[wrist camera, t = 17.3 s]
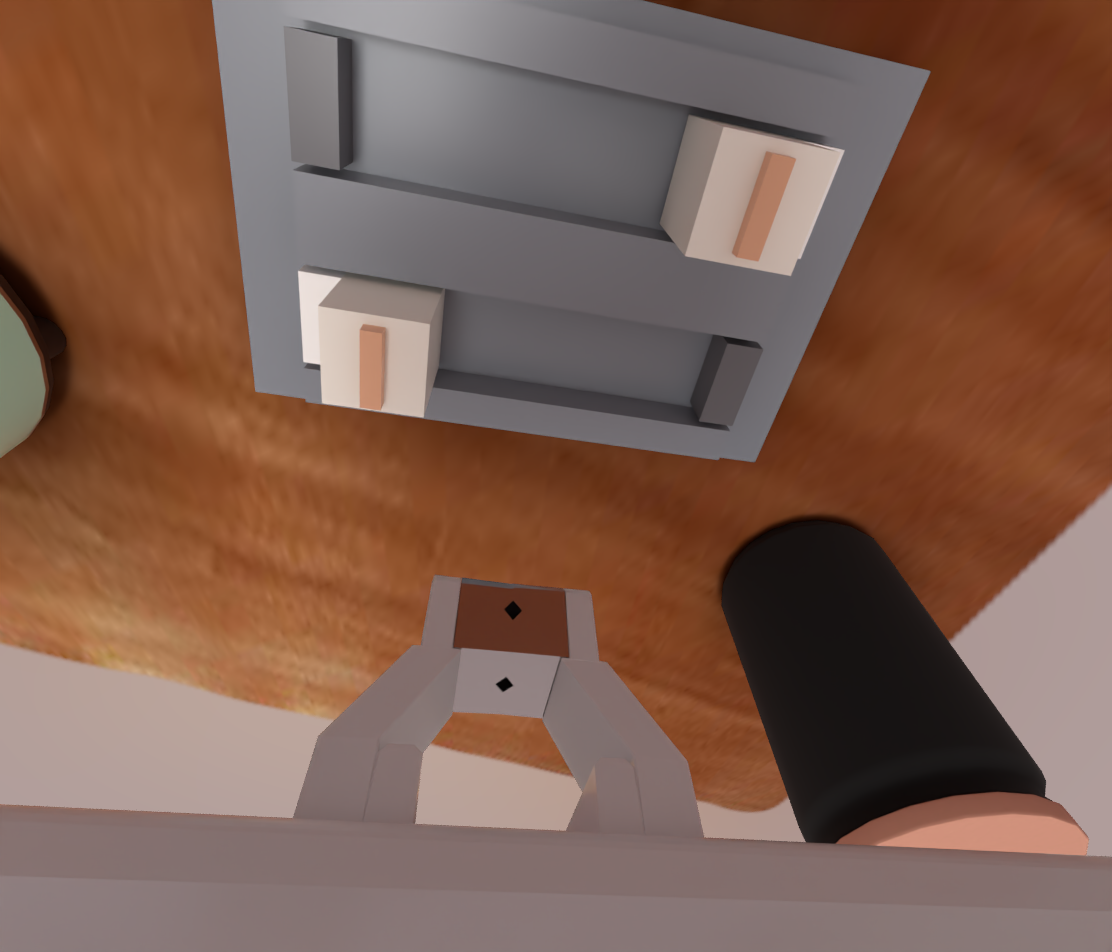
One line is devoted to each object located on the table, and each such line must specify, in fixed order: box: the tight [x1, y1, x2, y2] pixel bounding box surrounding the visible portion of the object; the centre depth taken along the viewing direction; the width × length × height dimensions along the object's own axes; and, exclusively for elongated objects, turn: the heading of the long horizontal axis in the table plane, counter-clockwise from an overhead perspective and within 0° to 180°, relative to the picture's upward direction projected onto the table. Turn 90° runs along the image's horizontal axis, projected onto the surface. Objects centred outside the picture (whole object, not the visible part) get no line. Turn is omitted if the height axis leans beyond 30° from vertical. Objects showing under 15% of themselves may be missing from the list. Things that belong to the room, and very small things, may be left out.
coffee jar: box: [722, 520, 1089, 855], centre depth 32 cm, size 11×11×18 cm
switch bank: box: [212, 0, 931, 462], centre depth 26 cm, size 18×26×4 cm
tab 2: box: [660, 114, 840, 276], centre depth 22 cm, size 4×4×6 cm
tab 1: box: [318, 272, 445, 418], centre depth 25 cm, size 4×4×6 cm
